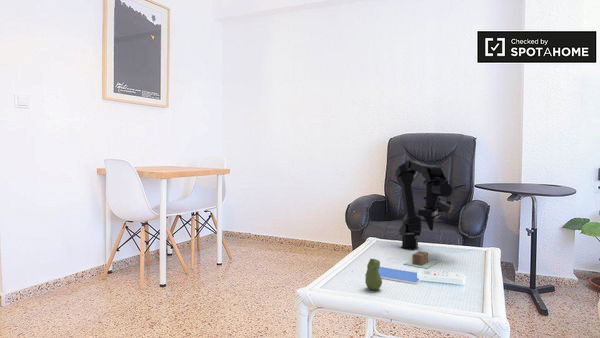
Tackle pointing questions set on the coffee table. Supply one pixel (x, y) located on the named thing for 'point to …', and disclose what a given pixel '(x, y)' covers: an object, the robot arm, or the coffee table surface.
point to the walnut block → (420, 258)
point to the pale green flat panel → (426, 266)
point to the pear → (373, 275)
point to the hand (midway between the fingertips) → (431, 230)
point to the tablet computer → (398, 275)
